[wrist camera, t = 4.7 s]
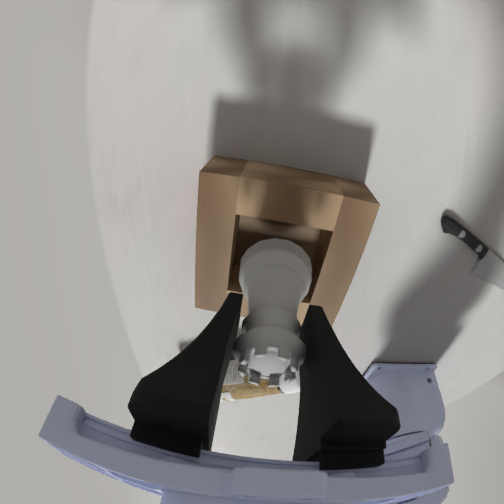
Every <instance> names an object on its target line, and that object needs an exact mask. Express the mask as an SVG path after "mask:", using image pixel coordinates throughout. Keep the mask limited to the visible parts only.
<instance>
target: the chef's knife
mask: <svg viewBox="0 0 504 504" xmlns="http://www.w3.org/2000/svg"><path fill="white" fill-rule="evenodd" d="M441 225H442V229H443V233H450V234H452V235H455V236H457V237H458V238H460V239H461V240H462V241H464V242H465V243H466V244H467V245H468V246H469V247H470V248H471V249H472V250H473V251H475V252H476V253H477V254H478V255H479V259H478V261H477V262H476V264H475V266H474V268H473V269H472V271H471V273H472V274H474V275H476V276H478V277H480V278H482V279H484V280H485V281H487V282H489V283H491V284H493V285H495V286H497V287H499V288H501V289H504V262H503V261H502V260H501V259H500V258H499V257H498V256H497V255H496V254H495V253H494V252H493V251H491V250H490V249H489V248H488V247H487V246H485V245H484V244H483V243H482V242H481V241H479V240H478V239H477V238H476V237H475V236H474V235H472V234H471V233H470V232H469V231H467V230H466V229H465V228H464V227H462V226H461V225H460V224H459V223H457V222H456V221H455V220H453V219H451V218H449V217H447V216H445V217H443V218H442V221H441Z"/></svg>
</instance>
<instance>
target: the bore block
mask: <svg viewBox="0 0 504 504" xmlns="http://www.w3.org/2000/svg"><path fill="white" fill-rule="evenodd" d="M379 206H380V204H379V202H378V201H377V200H376V198H375V197H374V196H373V194H372V193H371V191H370V190H369V189H368V187H367V186H366V185H365V184H364V183H360V182H356V181H351V180H347V179H343V178H338V177H334V176H329V175H325V174H320V173H315V172H310V171H305V170H300V169H294V168H289V167H283V166H278V165H272V164H266V163H259V162H253V161H246V160H239V159H232V158H224V157H216V156H214V157H213V158H212V159H211V160H210V161H209V162H208V163H207V164H206V165H205V166H204V167H203V168H202V170H201V171H200V172H199V188H198V206H197V229H196V263H195V308H200V309H205V310H210V311H216V312H218V311H219V309H220V308H221V306H222V304H223V303H224V301H225V299H226V297H227V295H228V293H230V292H234V293H240V294H243V291H242V288H241V286H240V283H239V272H240V263H241V258H242V257H243V255H244V254H245V252H246V251H247V249H248V248H249V247H251V246H253V245H254V244H256V243H257V242H259V241H262V240H267V239H273V238H277V239H283V240H289V241H291V242H293V243H295V244H296V245H298V246H300V247H301V248H303V250H304V251H305V252H306V254H307V255H308V256H309V258H310V261H311V266H312V273H311V275H312V281H311V284H310V288H309V291H308V294H307V295H306V296H305V297H304V298H303V300H302V301H301V302H300V304H299V306H298V312H297V319H298V320H299V322H300V325H302V323H303V321H304V318H305V315H306V312H307V310H308V307H309V305H316V306H322V308H323V310H324V312H325V314H326V316H327V319H328V321H329V323H330V325H331V327H332V325H333V322H334V320H335V318H336V316H337V314H338V311H339V309H340V307H341V305H342V302H343V300H344V298H345V296H346V293H347V291H348V289H349V286H350V284H351V281H352V279H353V276H354V274H355V272H356V269H357V267H358V264H359V261H360V259H361V256H362V254H363V251H364V248H365V246H366V243H367V240H368V238H369V235H370V232H371V229H372V226H373V224H374V221H375V218H376V215H377V212H378V209H379ZM247 315H248V300H247V299H246V296H245V295H244V294H243V300H242V307H241V313H240V316H244V317H247Z"/></svg>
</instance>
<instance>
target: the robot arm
mask: <svg viewBox="0 0 504 504" xmlns="http://www.w3.org/2000/svg"><path fill="white" fill-rule="evenodd" d="M242 300H243V294H240V293H234V292H230V293H228V295H227V297H226V299H225V301H224V303H223V304H222V306H221V308H220V309H219V311H218V312H217V313H216V315H215V316H214V318H213V319H212V320H211V322H210V323H209V324H208V325H207V326H206V328H205V329H204V330H203V331H202V332H201V333H200V334H199V336H198V337H197V338H196V339H195V340H194V341H193V342H192V343H191V344H190V345H188V346H187V347H186V348H185V349H184V350H183V351H182V352H181V353H179V354H178V355H177V356H176V357H174V358H173V359H172V360H170V361H169V362H167V363H166V364H165V365H163V366H162V367H160V368H159V369H157V370H155V371H154V372H152V373H150V374H149V375H147V376H145V377H143V378H142V379H141V380H140V382H139V383H138V385H137V386H136V388H135V390H134V391H133V393H132V396H131V398H130V401H129V404H128V409H129V411H130V412H131V414H132V416H133V418H134V420H135V422H134V425H133V427H132V430H129V429H126V428H123V427H120V426H118V425H115V424H112V423H110V422H107V421H105V420H102V419H100V418H97V417H95V416H92V415H90V414H88V413H86V412H85V410H84V409H83V407H81V406H80V405H79V404H77V403H75V402H73V401H71V400H68V399H66V398H64V397H62V396H60V395H58V396H57V398H56V400H55V401H54V403H53V405H52V408H51V410H50V412H49V414H48V416H47V418H46V420H45V422H44V424H43V427H42V429H41V431H40V433H39V437H41V438H42V439H43V440H44V441H45V442H47V443H48V444H50V445H51V446H52V447H54V448H55V449H56V450H57V451H59V452H60V453H62V454H64V455H66V456H67V457H69V458H71V459H73V460H75V461H77V462H79V463H81V464H83V465H85V466H87V467H89V468H92V469H94V470H96V471H98V472H100V473H102V474H105V475H107V476H109V477H111V478H114V479H116V480H119V481H121V482H124V483H126V484H129V485H132V486H134V487H137V488H140V489H143V490H146V491H148V492H152V493H155V494H158V495H161V496H162V499H161V503H160V504H441V503H442V502H443V501H444V500H445V498H446V497H447V493H448V492H449V485H450V484H452V483H453V482H454V477H453V471H452V465H451V459H450V453H449V448H448V444H447V443H444V444H443V441H442V438H441V436H437V435H438V434H439V433H440V431H441V430H442V428H443V425H444V420H445V408H444V404H443V400H442V397H441V393H440V390H439V387H438V383H437V380H436V377H435V374H434V371H435V369H436V368H437V365H436V364H388V363H374V364H372V365H371V366H370V368H369V369H368V371H367V372H366V373H365V375H364V376H362V375H361V373H360V372H359V371H358V370H357V368H356V367H355V366H354V364H353V363H352V361H351V360H350V358H349V357H348V355H347V354H346V352H345V351H344V349H343V347H342V346H341V344H340V342H339V340H338V338H337V337H336V335H335V333H334V331H333V329H332V327H331V325H330V323H329V321H328V319H327V316H326V314H325V312H324V310H323V308H322V306H316V305H309V307H308V310H307V312H306V315H305V318H304V321H303V323H302V326H301V333H300V335H299V339H300V340H301V341H302V342H303V343H304V344H305V346H306V351H307V356H306V358H305V361H304V363H303V364H302V365H301V366H299V377H300V404H299V416H298V426H297V434H296V442H295V448H294V454H293V460H292V461H283V460H270V459H260V458H251V457H243V456H236V455H229V454H223V453H217V452H212V451H211V447H212V442H213V436H214V431H215V425H216V420H217V414H218V409H219V404H220V398H221V393H222V388H223V383H224V379H225V376H226V372H227V369H228V366H229V362H230V359H231V356H232V348H233V343H234V342H235V341H236V337H237V331H238V326H239V320H240V313H241V307H242Z"/></svg>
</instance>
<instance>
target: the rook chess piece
mask: <svg viewBox="0 0 504 504" xmlns="http://www.w3.org/2000/svg"><path fill="white" fill-rule="evenodd" d="M311 273H312V266H311V261H310V258H309V256H308V255H307V254H306V252H305V251H304V250H303V248H301V247H300V246H298V245H296V244H295V243H293V242H291V241H289V240H283V239H277V238H273V239H267V240H262V241H259V242H257V243H256V244H254V245H253V246H251V247H249V248H248V249H247V251H246V252H245V254H244V255H243V257H242V258H241V263H240V272H239V283H240V286H241V288H242V291H243V294H244V295H245V296H246V299H247V300H248V315H247V317H246V318H245V319H244V320H243V323H242V331H243V334H241V335H240V336H239V337H238V338H237V339H236V341H235V342H234V343H233V348H232V354H233V356H234V358H235V360H236V362H237V363H238V369H237V370H238V372H239V374H240V376H241V377H242V376H247V373H248V374H249V379H248V382H249V383H251V384H254V385H257V386H258V385H259V383H260V378H263V379H269V384H268V385H269V387H280V378H283V377H284V381H286V382H288V383H290V382H291V381H293V380H294V379H295V378H296V372H299V366H301V365H302V364H303V363H304V361H305V358H306V356H307V351H306V346H305V344H304V343H303V342H302V341H301V340H300V339H299V335H300V333H301V326H300V322H299V320H298V319H297V312H298V306H299V304H300V302H301V301H302V300H303V298H304V297H305V296H306V295H307V294H308V291H309V288H310V284H311V281H312V275H311Z"/></svg>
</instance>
